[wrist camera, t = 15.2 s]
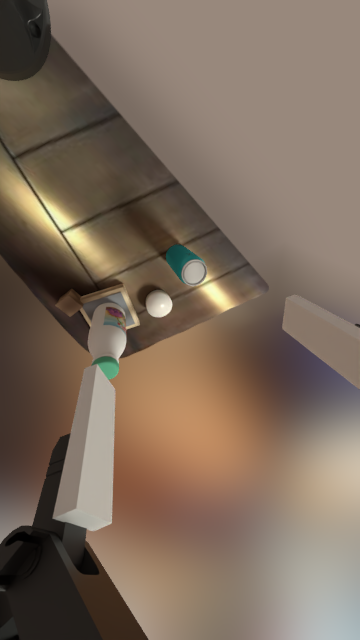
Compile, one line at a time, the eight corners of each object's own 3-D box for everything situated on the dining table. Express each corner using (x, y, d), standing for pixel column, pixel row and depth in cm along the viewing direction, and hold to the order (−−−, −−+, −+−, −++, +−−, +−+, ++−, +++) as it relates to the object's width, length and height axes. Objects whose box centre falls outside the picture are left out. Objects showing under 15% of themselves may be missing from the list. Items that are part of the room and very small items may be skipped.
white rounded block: (142, 294, 51) (143, 299, 48) (166, 286, 52) (168, 290, 49) (149, 315, 55) (151, 320, 52) (172, 307, 56) (174, 312, 53)
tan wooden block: (59, 298, 46) (55, 305, 43) (72, 288, 45) (68, 295, 42) (73, 308, 48) (70, 316, 45) (85, 299, 48) (82, 307, 44)
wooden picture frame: (76, 297, 47) (74, 302, 45) (123, 283, 48) (123, 287, 46) (98, 333, 54) (97, 339, 51) (138, 320, 55) (139, 325, 53)
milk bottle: (104, 331, 51) (96, 393, 34) (87, 308, 46) (69, 367, 30) (130, 320, 51) (135, 376, 35) (116, 296, 46) (114, 348, 30)
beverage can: (181, 268, 50) (201, 290, 38) (161, 262, 48) (175, 283, 36) (189, 247, 48) (213, 263, 36) (169, 239, 45) (187, 253, 33)
